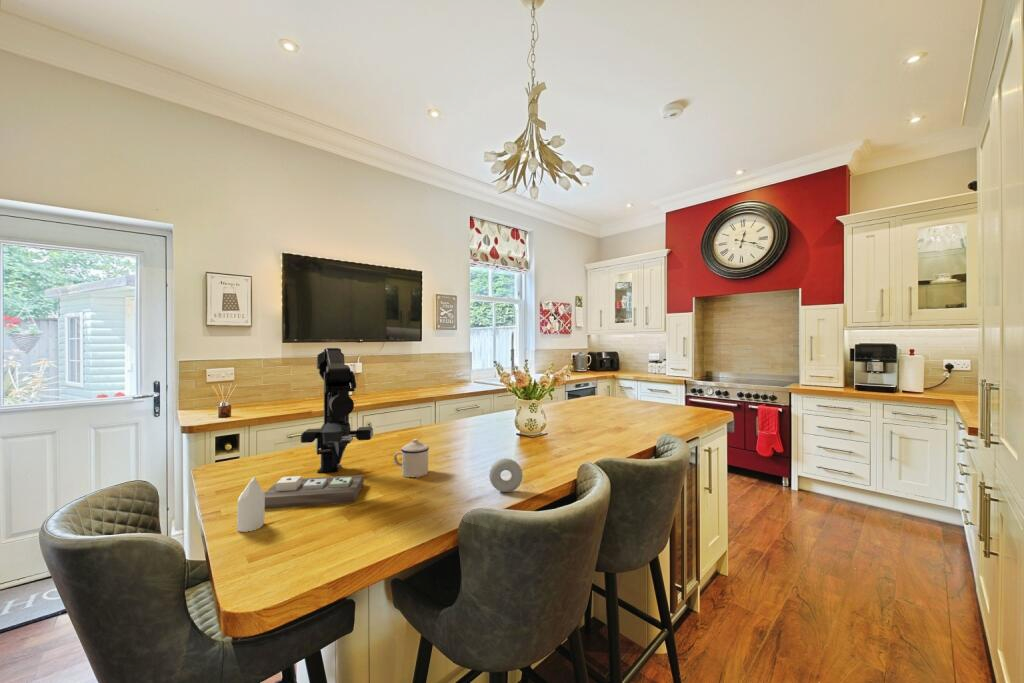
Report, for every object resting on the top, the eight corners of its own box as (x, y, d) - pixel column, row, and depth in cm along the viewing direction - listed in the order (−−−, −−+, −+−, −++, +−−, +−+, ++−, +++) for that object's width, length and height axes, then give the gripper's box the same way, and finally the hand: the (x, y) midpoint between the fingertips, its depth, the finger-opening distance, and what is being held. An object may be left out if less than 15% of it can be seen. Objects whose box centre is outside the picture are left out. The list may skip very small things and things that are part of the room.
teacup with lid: (432, 469, 138) (432, 436, 138) (423, 479, 129) (423, 443, 129) (399, 468, 139) (399, 435, 139) (388, 477, 130) (388, 442, 130)
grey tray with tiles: (279, 489, 119) (279, 479, 119) (363, 484, 123) (363, 474, 123) (258, 509, 105) (258, 497, 105) (354, 502, 110) (354, 491, 110)
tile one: (282, 487, 115) (282, 476, 115) (301, 486, 116) (301, 475, 116) (275, 493, 110) (275, 482, 110) (295, 492, 111) (295, 481, 111)
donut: (488, 494, 116) (488, 460, 116) (489, 489, 120) (489, 456, 120) (522, 494, 116) (522, 460, 116) (522, 490, 120) (522, 457, 120)
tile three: (334, 488, 118) (334, 477, 118) (351, 487, 119) (351, 476, 119) (329, 494, 113) (329, 483, 113) (348, 493, 114) (348, 482, 114)
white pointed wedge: (234, 476, 96) (261, 471, 100) (234, 526, 96) (261, 519, 100) (240, 483, 91) (267, 477, 95) (239, 534, 91) (267, 527, 95)
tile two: (308, 489, 116) (308, 479, 116) (326, 488, 117) (326, 478, 117) (303, 496, 111) (303, 485, 111) (322, 495, 112) (322, 484, 112)
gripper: (294, 416, 106) (293, 475, 106) (367, 414, 109) (367, 470, 109) (307, 409, 117) (306, 462, 117) (373, 407, 120) (373, 459, 120)
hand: (338, 463), depth 116 cm, fingers closed
